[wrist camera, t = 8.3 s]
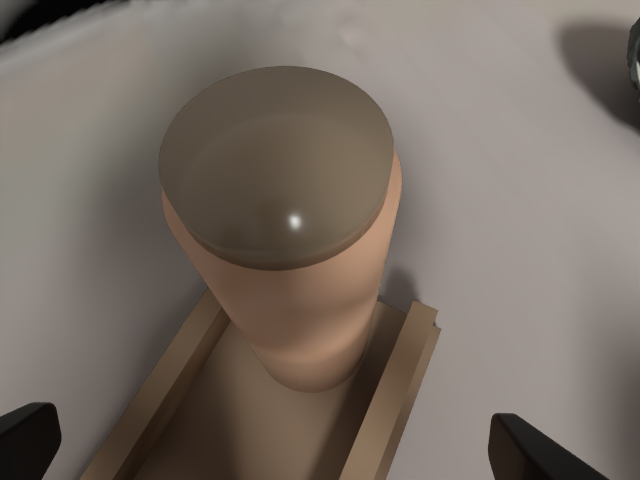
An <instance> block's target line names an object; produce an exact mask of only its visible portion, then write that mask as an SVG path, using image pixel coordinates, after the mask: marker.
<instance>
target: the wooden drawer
mask: <svg viewBox="0 0 640 480" xmlns="http://www.w3.org/2000/svg"><path fill="white" fill-rule="evenodd" d="M437 312H438V310H436V309H434V308H431V307H429V306H427V305H424V304H422V303H420V302H418V301H415V300H413V303H412V305H411V307H410V309H409V312H408V314H407V313H404V312H402V311H400V310H398V309H395V308H393V307H391V306H388V305H386V304H384V303H382V302H379V301H377V302H376V306H375V311H374V315H373V319H372V324H371V328H370V333H369V337H368V341H367V346H366V350H365V353H364V356H363V359H362V361H361V363H360V365H359V366H358V368H357V369H356V371H355V372H354V373H353V374H352V375H351V376H350V377H349V378H348V379H347V380H346V381H344V382H343V383H342V384H340V385H338V386H336V387H335V388H332V389H329V390H327V391H322V392H316V393H304V392H299V391H295V390H292V389H289V388H287V387H285V386H283V385H281V384H280V383H278V382H277V381H276V380H274V379H273V378H272V377H271V376H270V375H269V373H268V372H267V371H266V370H265V368H264V367H263V365H262V364H261V362H260V361H259V359H258V358H257V357H256V355H255V354H254V352H253V351H252V349H251V348H250V346H249V345H248V343H247V342H246V341H245V339H244V338H243V336H242V335H241V333H240V332H239V330H238V329H237V327H236V326H235V325H234V323H233V322H232V320H231V319H230V317H229V316H228V314H227V313H226V311H225V310H224V309H223V307H222V306H221V304H220V303H219V301H218V300H217V298H216V297H215V296H214V294H213V293H212V291H211V290H210V288H209V287H207V289H206V290H205V292H204V293H203V295H202V296H201V298H200V299H199V301H198V302H197V304H196V305H195V307H194V308H193V310H192V311H191V313H190V314H189V316H188V317H187V319H186V320H185V322H184V323H183V325H182V326H181V328H180V329H179V331H178V332H177V334H176V335H175V337H174V338H173V340H172V341H171V343H170V344H169V346H168V347H167V349H166V350H165V352H164V353H163V355H162V356H161V358H160V359H159V361H158V362H157V364H156V365H155V367H154V368H153V370H152V371H151V373H150V374H149V376H148V377H147V379H146V380H145V382H144V383H143V385H142V386H141V388H140V389H139V391H138V392H137V394H136V395H135V397H134V398H133V400H132V401H131V403H130V404H129V406H128V407H127V409H126V410H125V412H124V413H123V415H122V416H121V418H120V419H119V421H118V422H117V424H116V425H115V427H114V428H113V430H112V431H111V433H110V434H109V436H108V437H107V439H106V440H105V442H104V443H103V445H102V446H101V448H100V449H99V451H98V452H97V454H96V455H95V457H94V458H93V460H92V461H91V463H90V464H89V466H88V467H87V469H86V470H85V472H84V473H83V475H82V476H81V478H80V479H79V480H386V477H387V474H388V472H389V469H390V466H391V464H392V461H393V458H394V455H395V453H396V450H397V447H398V445H399V442H400V439H401V437H402V434H403V431H404V428H405V426H406V423H407V420H408V418H409V415H410V412H411V410H412V407H413V404H414V402H415V399H416V396H417V393H418V391H419V388H420V385H421V383H422V380H423V377H424V375H425V372H426V369H427V366H428V364H429V361H430V358H431V356H432V353H433V350H434V348H435V345H436V342H437V340H438V337H439V334H440V331H441V329H440V328H438V327H436V326H434V325H433V323H434V320H435V318H436V315H437Z"/></svg>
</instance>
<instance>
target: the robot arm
mask: <svg viewBox="0 0 640 480" xmlns="http://www.w3.org/2000/svg"><path fill="white" fill-rule="evenodd" d="M60 444H61V430H60V425H59V420H58V415H57V410H56V407H55V405H54V404H52V403H47V402H33V403H30V404H27V405H25V406H23V407H21V408H18V409H16V410H14V411H12V412H10V413H7V414H5V415H3V416H1V417H0V480H42V478H43V476H44V474H45V473H46V471H47V469H48V467H49V465H50V464H51V462H52V460H53V458H54V456H55V455H56V453H57V451H58V449H59V447H60ZM488 456H489V461H490V464H491V468H492V471H493V475H494V478H495V480H609V479H608V478H606V477H605V476H604V475H602V474H601V473H599V472H598V471H596V470H595V469H594V468H592V467H591V466H589V465H588V464H586V463H585V462H584V461H582V460H581V459H579V458H578V457H576V456H575V455H574V454H572V453H571V452H569V451H568V450H566V449H565V448H563V447H562V446H561V445H559V444H558V443H556V442H555V441H553V440H552V439H551V438H549V437H548V436H546V435H545V434H543V433H542V432H541V431H539V430H538V429H536V428H535V427H533V426H532V425H531V424H529V423H528V422H526V421H525V420H523V419H522V418H520V417H519V416H517V415H516V414H513V413H495V414H494V415H493V416H492V419H491V427H490V435H489V444H488Z"/></svg>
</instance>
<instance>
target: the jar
mask: <svg viewBox="0 0 640 480" xmlns="http://www.w3.org/2000/svg"><path fill="white" fill-rule="evenodd" d="M159 175H160V180H161V185H162V205H163V210H164V215H165V218H166V221H167V223H168V226H169V228H170V230H171V232H172V234H173V235H174V237H175V239H176V240H177V242H178V243H179V245H180V246H181V248H182V249H183V250H184V252H185V253H186V255H187V256H188V258H189V259H190V261H191V262H192V264H193V265H194V266H195V268H196V269H197V271H198V272H199V274H200V275H201V277H202V278H203V280H204V281H205V282H206V284H207V285H208V287H209V288H210V290H211V291H212V293H213V294H214V296H215V297H216V298H217V300H218V301H219V303H220V304H221V306H222V307H223V309H224V310H225V311H226V313H227V314H228V316H229V317H230V319H231V320H232V322H233V323H234V325H235V326H236V327H237V329H238V330H239V332H240V333H241V335H242V336H243V338H244V339H245V341H246V342H247V343H248V345H249V346H250V348H251V349H252V351H253V352H254V354H255V355H256V357H257V358H258V359H259V361H260V362H261V364H262V365H263V367H264V368H265V370H266V371H267V372H268V373H269V375H270V376H271V377H272V378H273V379H274V380H276V381H277V382H278V383H280V384H281V385H283V386H285V387H287V388H289V389H292V390H295V391H299V392H304V393H316V392H322V391H327V390H329V389H332V388H335V387H336V386H338V385H340V384H342V383H343V382H344V381H346V380H347V379H348V378H349V377H350V376H351V375H352V374H353V373H354V372H355V371H356V369H357V368H358V366H359V365H360V363H361V361H362V359H363V356H364V353H365V350H366V346H367V341H368V337H369V333H370V328H371V324H372V319H373V315H374V311H375V306H376V302H377V297H378V293H379V289H380V284H381V280H382V275H383V271H384V267H385V262H386V258H387V253H388V249H389V245H390V240H391V236H392V231H393V227H394V223H395V218H396V214H397V209H398V205H399V200H400V196H401V188H402V172H401V166H400V161H399V157H398V155H397V152H396V150H395V147H394V142H393V137H392V132H391V128H390V126H389V123H388V121H387V118H386V117H385V115H384V113H383V112H382V110H381V108H380V107H379V106H378V105H377V104H376V102H375V101H374V100H373V99H372V98H371V97H370V96H369V95H368V94H367V93H366V92H364V91H363V90H362V89H360V88H359V87H358V86H356V85H355V84H353V83H351V82H349V81H347V80H346V79H344V78H341V77H339V76H336V75H334V74H331V73H328V72H325V71H321V70H317V69H312V68H306V67H296V66H277V67H266V68H260V69H254V70H250V71H246V72H242V73H239V74H236V75H233V76H231V77H228V78H226V79H224V80H221V81H219V82H217V83H215V84H213V85H212V86H210V87H208V88H207V89H205V90H203V91H202V92H201V93H199V94H198V95H197V96H195V97H194V98H193V99H192V100H191V101H190V102H188V103H187V104H186V105H185V106H184V107H183V108H182V110H181V111H180V112H179V113H178V114H177V115H176V117H175V118H174V120H173V121H172V123H171V124H170V126H169V128H168V130H167V132H166V134H165V136H164V139H163V142H162V145H161V148H160V155H159Z"/></svg>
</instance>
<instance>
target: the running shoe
mask: <svg viewBox="0 0 640 480" xmlns="http://www.w3.org/2000/svg"><path fill="white" fill-rule="evenodd" d="M627 59H628V66H629V68H630V70H629V75H630V80H631V83H632V85H633V87H634V88H635V89H636V90H639V91H640V17H639V19H638V20H637V22H636V23H635V24H634V25H633V26H632V28H631V30H630V37H629V42H628V53H627ZM638 101H639V103H640V94H639V96H638Z"/></svg>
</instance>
